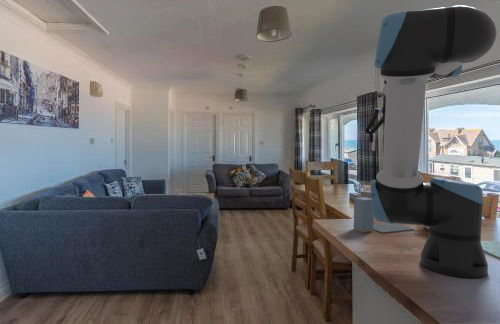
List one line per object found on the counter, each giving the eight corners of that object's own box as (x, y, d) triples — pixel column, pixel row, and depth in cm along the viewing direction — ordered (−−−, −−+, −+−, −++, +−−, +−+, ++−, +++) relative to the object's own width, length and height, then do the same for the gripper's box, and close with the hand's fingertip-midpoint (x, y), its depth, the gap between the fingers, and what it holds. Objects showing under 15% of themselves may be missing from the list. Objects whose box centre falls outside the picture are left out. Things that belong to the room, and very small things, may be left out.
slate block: (362, 232, 121) (362, 199, 121) (353, 228, 126) (354, 197, 125) (373, 231, 123) (374, 199, 122) (364, 227, 128) (365, 197, 127)
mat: (382, 233, 120) (382, 232, 120) (360, 225, 131) (360, 224, 131) (414, 230, 125) (414, 229, 125) (390, 222, 136) (391, 221, 136)
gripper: (427, 91, 124) (423, 146, 130) (358, 95, 129) (357, 148, 135) (434, 93, 117) (429, 151, 123) (360, 97, 122) (359, 152, 128)
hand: (391, 149), depth 129 cm, fingers open, 13 cm apart
